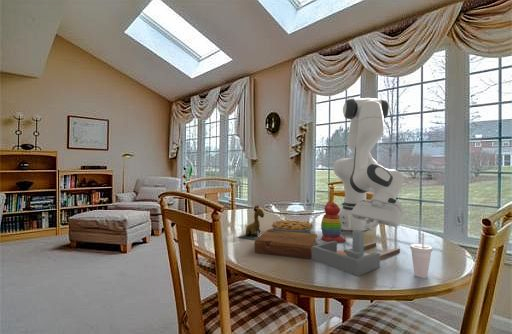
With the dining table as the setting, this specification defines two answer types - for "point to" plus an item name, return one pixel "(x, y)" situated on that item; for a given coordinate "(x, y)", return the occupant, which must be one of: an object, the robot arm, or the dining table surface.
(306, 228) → the pie
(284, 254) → the diary
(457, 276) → the dining table surface
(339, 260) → the grey walled tray
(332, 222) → the stacking bear
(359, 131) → the robot arm
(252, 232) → the stuffed giraffe
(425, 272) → the smoothie
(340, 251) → the ball
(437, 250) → the dining table surface
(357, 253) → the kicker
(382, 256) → the lane
